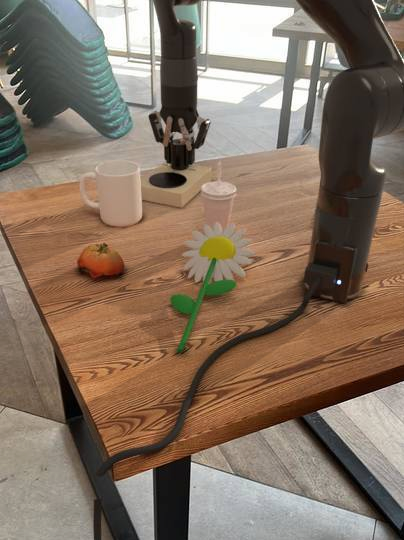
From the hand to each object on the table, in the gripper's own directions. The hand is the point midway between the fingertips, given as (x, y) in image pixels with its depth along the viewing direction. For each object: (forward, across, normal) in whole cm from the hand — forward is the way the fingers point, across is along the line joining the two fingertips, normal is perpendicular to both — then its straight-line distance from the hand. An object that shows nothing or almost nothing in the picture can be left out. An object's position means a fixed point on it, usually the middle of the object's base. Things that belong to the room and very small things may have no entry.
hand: (179, 163), depth 126 cm
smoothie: (+4, +18, -22) cm, 29 cm away
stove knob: (+1, 0, 0) cm, 1 cm away
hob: (+4, +1, -5) cm, 6 cm away
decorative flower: (+4, +24, -42) cm, 49 cm away
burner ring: (+1, +1, -8) cm, 8 cm away
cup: (+4, -4, -23) cm, 24 cm away
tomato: (+4, +5, -42) cm, 42 cm away
